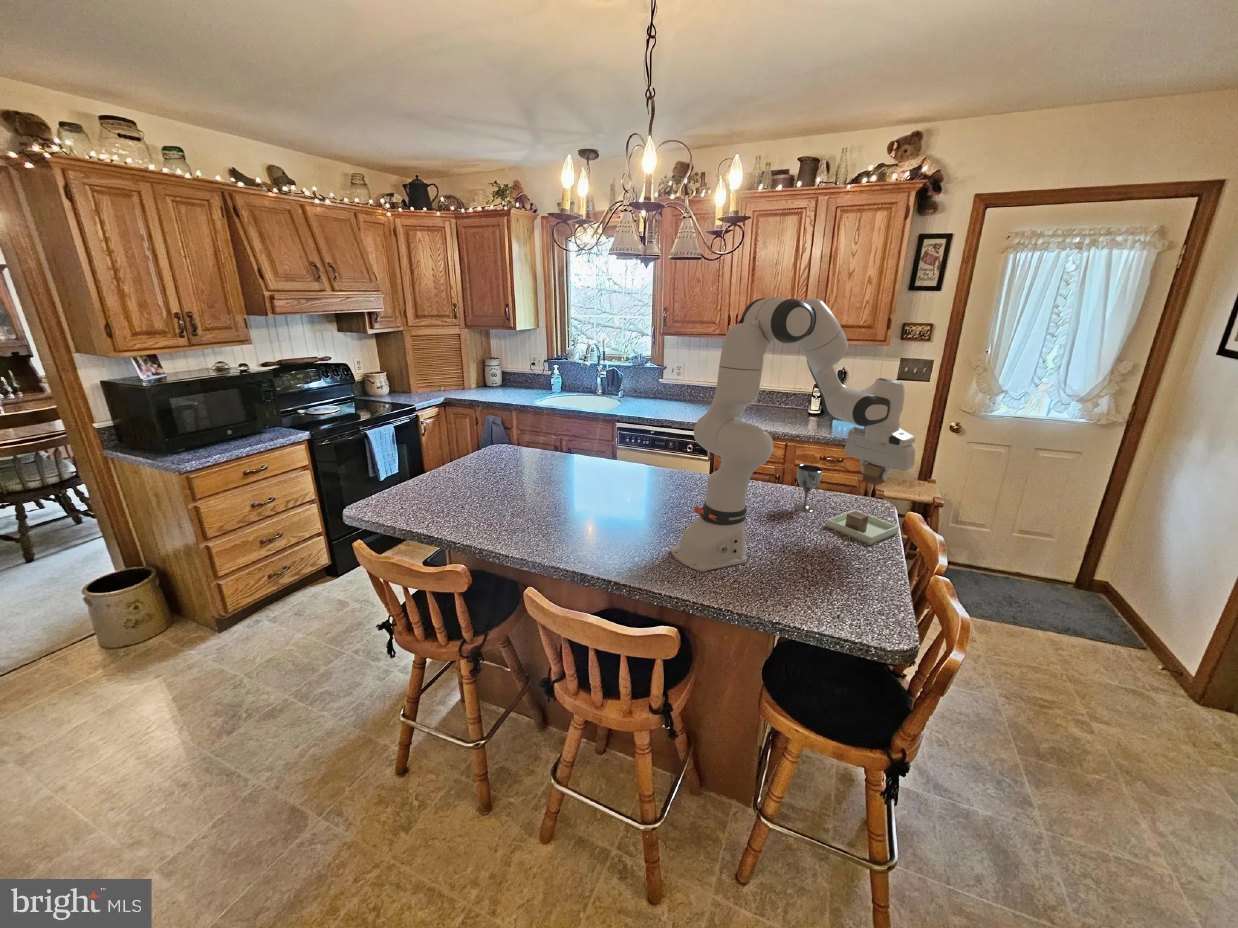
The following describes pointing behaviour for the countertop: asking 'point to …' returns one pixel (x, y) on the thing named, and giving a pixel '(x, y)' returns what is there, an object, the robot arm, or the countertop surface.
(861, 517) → the block
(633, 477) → the countertop surface
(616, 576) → the countertop surface
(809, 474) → the wine glass
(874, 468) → the block
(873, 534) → the tray
